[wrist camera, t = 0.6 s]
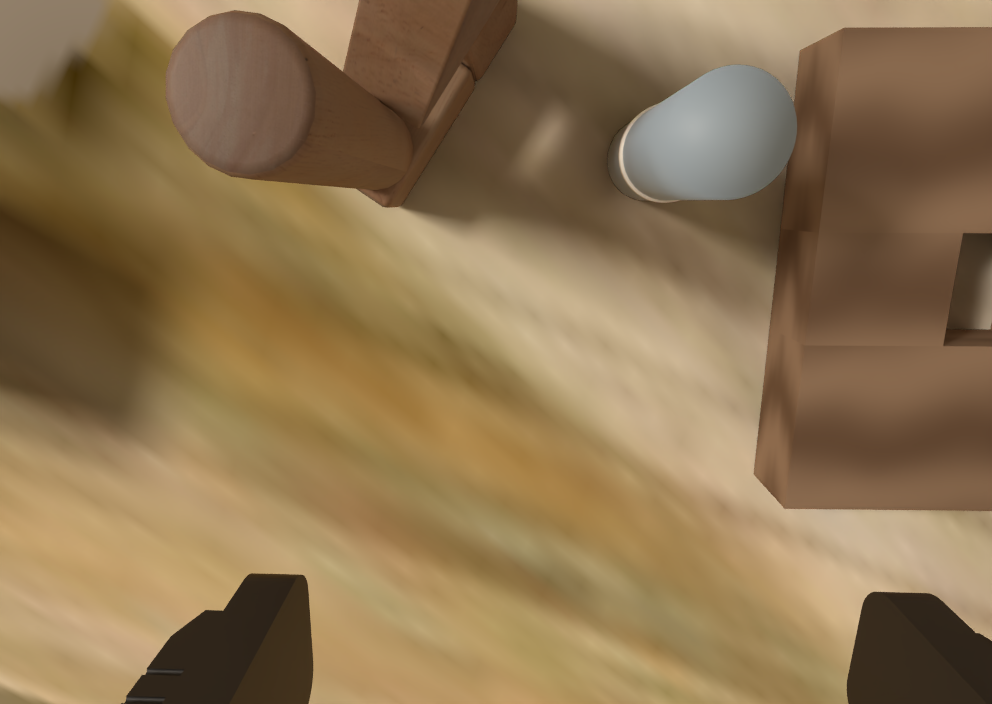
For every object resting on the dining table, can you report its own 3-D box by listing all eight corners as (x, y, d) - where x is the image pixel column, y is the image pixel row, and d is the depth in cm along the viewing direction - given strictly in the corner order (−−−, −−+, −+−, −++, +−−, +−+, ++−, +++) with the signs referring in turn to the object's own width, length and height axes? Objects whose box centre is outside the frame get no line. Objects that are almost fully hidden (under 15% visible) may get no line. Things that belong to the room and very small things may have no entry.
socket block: (800, 50, 30) (844, 27, 26) (1181, 49, 29) (1285, 26, 25) (753, 474, 35) (784, 508, 31) (1077, 477, 34) (1149, 512, 31)
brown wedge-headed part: (520, 19, 30) (538, -246, 12) (400, 209, 32) (269, 219, 14) (455, -29, 29) (378, -376, 12) (339, 167, 31) (126, 124, 14)
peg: (607, 114, 30) (668, 61, 19) (692, 115, 30) (808, 60, 19) (603, 202, 31) (660, 203, 20) (686, 202, 31) (791, 203, 20)
